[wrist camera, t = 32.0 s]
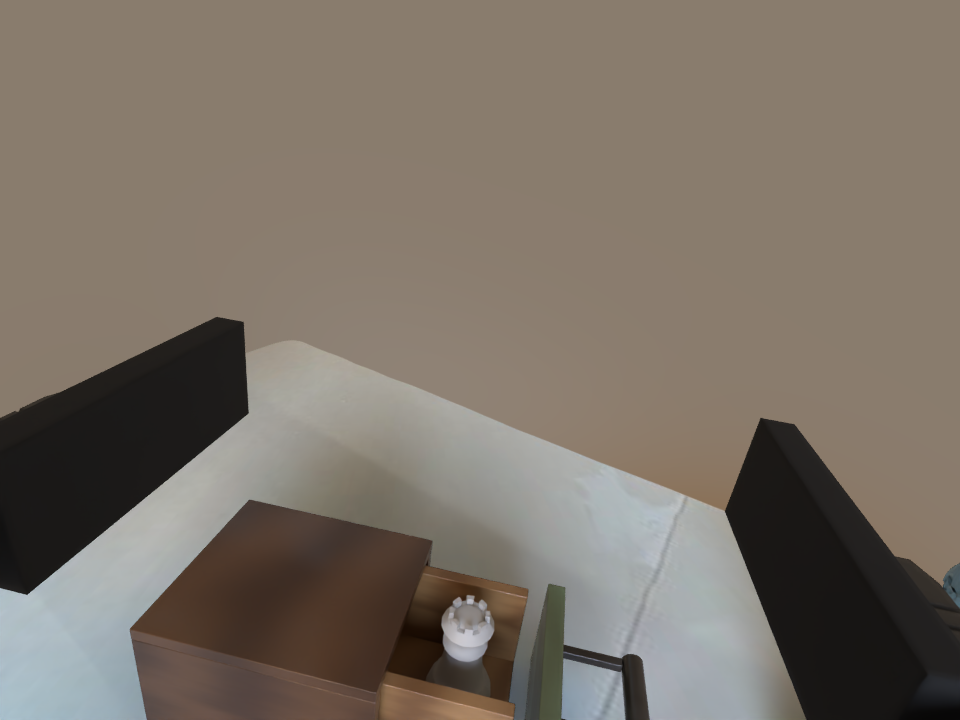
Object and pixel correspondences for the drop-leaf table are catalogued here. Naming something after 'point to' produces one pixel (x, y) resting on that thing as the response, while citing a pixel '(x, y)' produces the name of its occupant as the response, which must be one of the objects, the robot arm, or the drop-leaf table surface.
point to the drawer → (491, 656)
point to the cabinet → (279, 620)
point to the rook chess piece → (464, 647)
